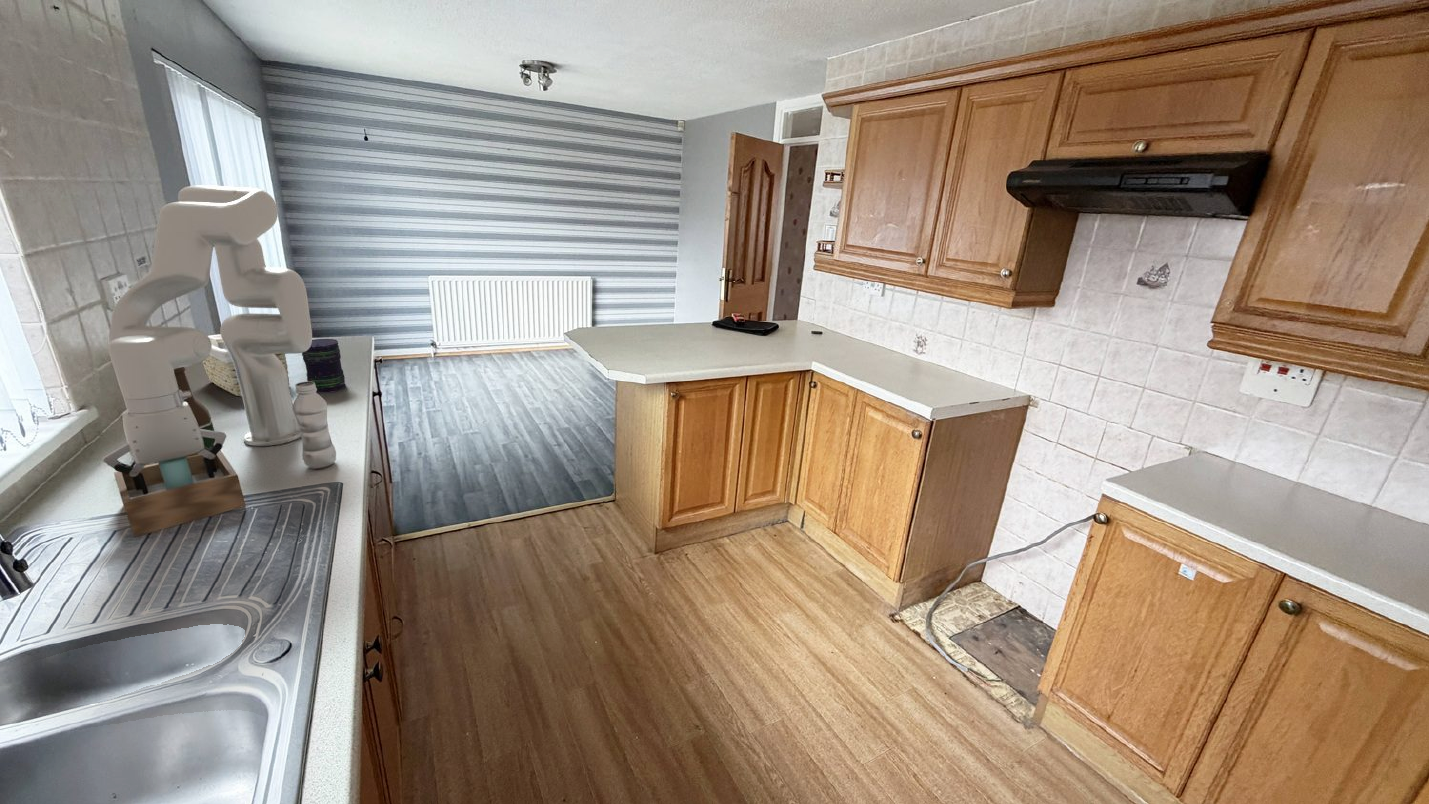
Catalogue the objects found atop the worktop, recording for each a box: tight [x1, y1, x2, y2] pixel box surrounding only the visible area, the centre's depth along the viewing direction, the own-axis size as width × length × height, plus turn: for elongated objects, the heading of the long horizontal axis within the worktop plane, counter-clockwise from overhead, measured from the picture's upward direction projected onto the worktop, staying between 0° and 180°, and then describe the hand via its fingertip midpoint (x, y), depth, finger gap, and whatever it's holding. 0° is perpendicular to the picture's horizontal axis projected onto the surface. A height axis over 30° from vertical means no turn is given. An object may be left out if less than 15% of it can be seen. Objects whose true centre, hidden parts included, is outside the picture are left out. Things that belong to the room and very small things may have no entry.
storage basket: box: [201, 333, 290, 397], centre depth 176 cm, size 24×16×15 cm
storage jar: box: [301, 338, 347, 394], centre depth 176 cm, size 10×10×15 cm
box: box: [113, 449, 246, 538], centre depth 111 cm, size 16×16×7 cm
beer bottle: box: [174, 367, 215, 457], centre depth 122 cm, size 8×8×24 cm
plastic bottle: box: [292, 380, 337, 470], centre depth 127 cm, size 6×7×20 cm
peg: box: [157, 456, 194, 490], centre depth 111 cm, size 4×4×10 cm
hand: (179, 483), depth 111 cm, fingers open, 9 cm apart
